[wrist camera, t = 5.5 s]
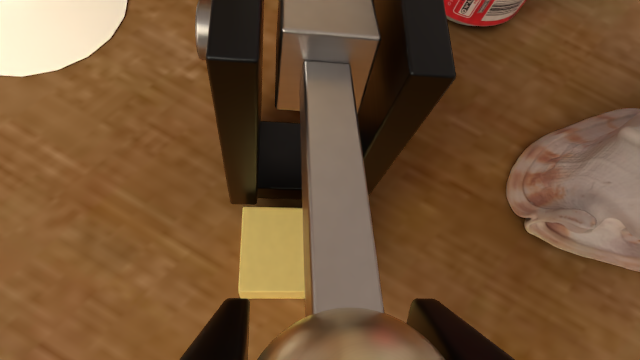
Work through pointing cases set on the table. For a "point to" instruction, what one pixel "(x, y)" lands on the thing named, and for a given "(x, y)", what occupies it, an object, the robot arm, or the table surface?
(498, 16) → the soda can
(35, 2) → the wineglass
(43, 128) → the table surface
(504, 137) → the table surface
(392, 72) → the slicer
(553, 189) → the seashell
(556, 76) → the table surface
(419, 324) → the robot arm
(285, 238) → the butter
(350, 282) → the ball-tipped lever
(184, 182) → the table surface
